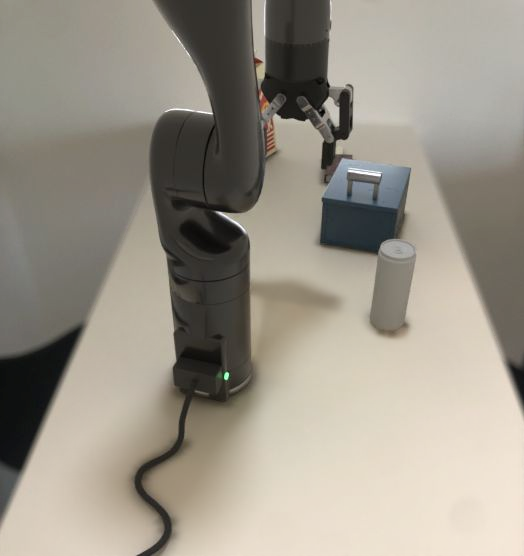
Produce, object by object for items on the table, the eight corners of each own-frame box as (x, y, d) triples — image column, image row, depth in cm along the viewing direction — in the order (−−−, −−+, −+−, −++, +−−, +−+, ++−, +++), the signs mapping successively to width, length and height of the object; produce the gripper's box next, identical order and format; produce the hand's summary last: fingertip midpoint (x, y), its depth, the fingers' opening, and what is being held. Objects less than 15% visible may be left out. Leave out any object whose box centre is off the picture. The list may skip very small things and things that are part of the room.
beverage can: (403, 312, 96) (416, 239, 88) (405, 334, 92) (418, 259, 84) (368, 310, 96) (378, 237, 88) (369, 332, 92) (379, 257, 84)
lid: (396, 213, 101) (401, 182, 98) (321, 202, 104) (323, 171, 101) (410, 172, 112) (415, 143, 108) (341, 162, 114) (344, 134, 111)
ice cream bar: (325, 150, 136) (324, 185, 125) (325, 142, 135) (324, 176, 124) (351, 151, 136) (352, 186, 125) (352, 143, 135) (353, 178, 123)
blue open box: (391, 255, 107) (397, 211, 102) (319, 243, 110) (322, 199, 104) (404, 214, 117) (410, 172, 112) (338, 204, 119) (341, 162, 114)
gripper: (227, 35, 76) (232, 168, 87) (352, 47, 73) (341, 183, 84) (248, 15, 81) (250, 143, 92) (365, 26, 78) (353, 157, 89)
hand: (293, 162), depth 88 cm, fingers open, 8 cm apart
